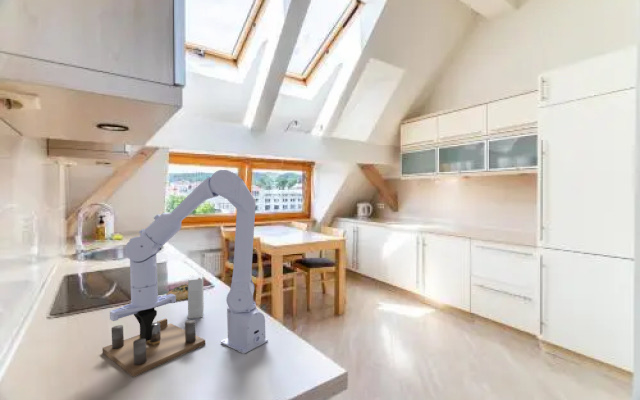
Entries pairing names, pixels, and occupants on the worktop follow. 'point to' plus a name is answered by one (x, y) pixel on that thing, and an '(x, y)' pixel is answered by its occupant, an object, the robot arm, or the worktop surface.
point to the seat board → (152, 347)
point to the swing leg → (155, 334)
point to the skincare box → (195, 296)
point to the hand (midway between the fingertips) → (146, 339)
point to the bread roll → (180, 292)
